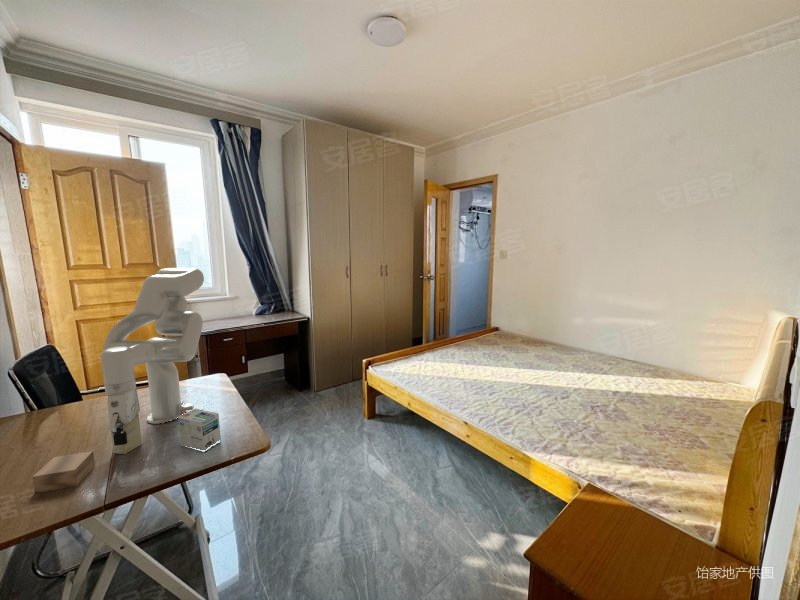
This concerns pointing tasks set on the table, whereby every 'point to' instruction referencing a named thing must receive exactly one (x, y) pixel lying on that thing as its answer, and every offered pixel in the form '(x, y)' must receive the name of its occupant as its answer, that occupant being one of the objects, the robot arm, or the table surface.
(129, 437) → the skincare box
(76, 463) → the tan flat block
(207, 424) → the light bulb box
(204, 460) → the table surface
